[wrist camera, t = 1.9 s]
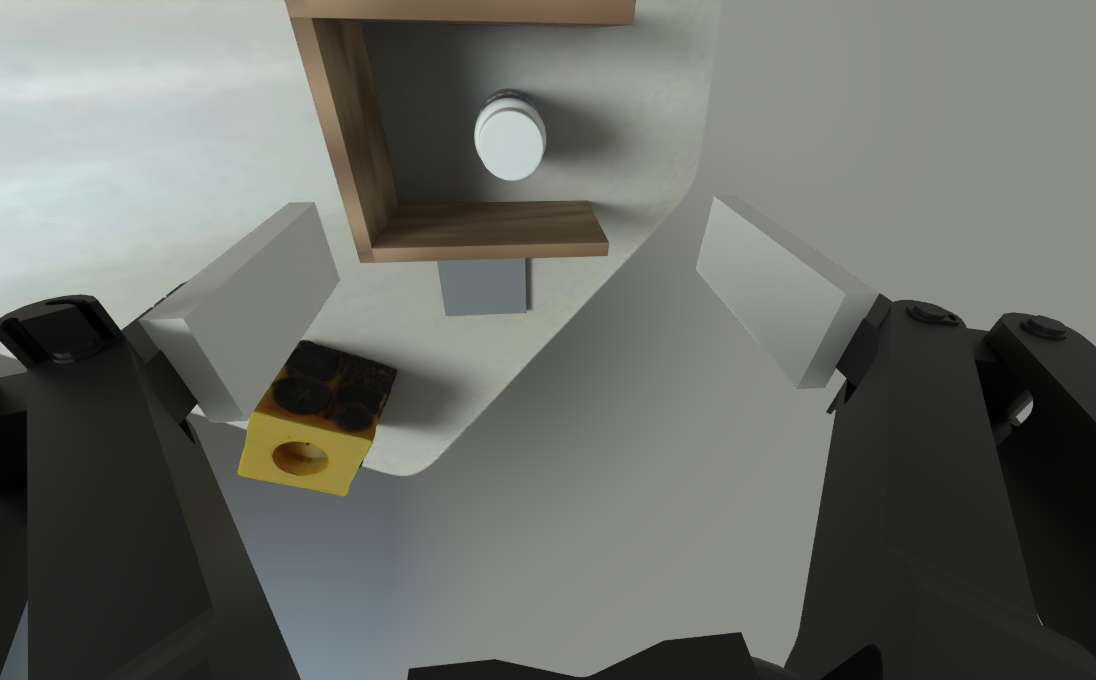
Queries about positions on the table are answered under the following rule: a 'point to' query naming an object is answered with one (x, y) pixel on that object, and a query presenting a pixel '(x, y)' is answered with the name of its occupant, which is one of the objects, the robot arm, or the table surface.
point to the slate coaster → (483, 286)
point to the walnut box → (361, 152)
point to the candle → (316, 420)
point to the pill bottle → (510, 135)
